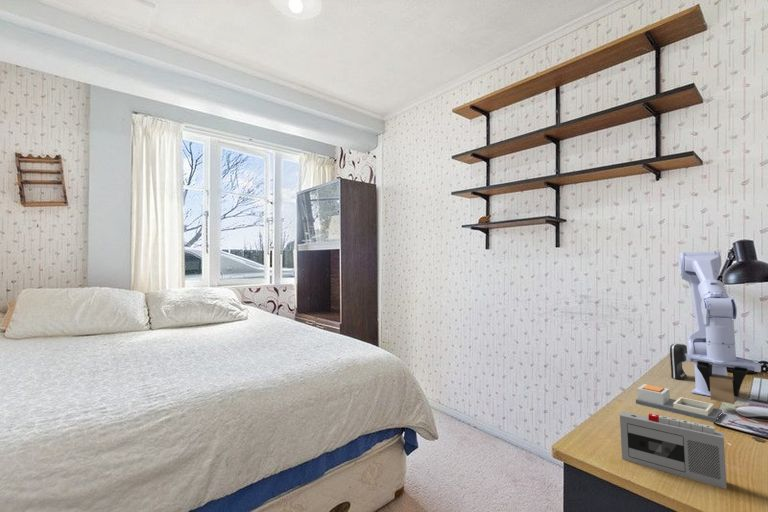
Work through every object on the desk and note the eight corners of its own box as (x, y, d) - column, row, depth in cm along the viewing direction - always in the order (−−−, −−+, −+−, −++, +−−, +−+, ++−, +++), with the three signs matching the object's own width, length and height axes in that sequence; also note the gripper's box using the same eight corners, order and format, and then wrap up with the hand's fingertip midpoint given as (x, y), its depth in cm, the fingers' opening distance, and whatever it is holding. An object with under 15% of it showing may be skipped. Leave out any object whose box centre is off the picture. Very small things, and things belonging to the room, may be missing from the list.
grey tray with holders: (645, 396, 108) (644, 383, 108) (722, 413, 94) (721, 398, 94) (635, 403, 103) (635, 389, 103) (715, 422, 89) (714, 406, 89)
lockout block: (714, 395, 99) (713, 373, 99) (737, 399, 96) (735, 377, 96) (710, 399, 97) (709, 377, 97) (733, 404, 93) (732, 380, 93)
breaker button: (647, 394, 105) (647, 384, 106) (664, 398, 102) (663, 387, 102) (643, 398, 103) (642, 387, 103) (660, 401, 100) (659, 391, 100)
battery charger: (685, 381, 120) (683, 347, 121) (671, 378, 123) (669, 345, 124) (690, 377, 124) (688, 343, 125) (676, 374, 127) (675, 342, 128)
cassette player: (622, 459, 74) (619, 410, 74) (624, 454, 76) (622, 406, 76) (726, 489, 63) (723, 432, 64) (726, 482, 65) (723, 427, 66)
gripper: (682, 340, 100) (684, 389, 99) (756, 349, 88) (760, 404, 88) (688, 337, 104) (691, 384, 104) (760, 344, 93) (764, 397, 92)
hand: (723, 393), depth 96 cm, fingers closed on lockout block, 4 cm apart
